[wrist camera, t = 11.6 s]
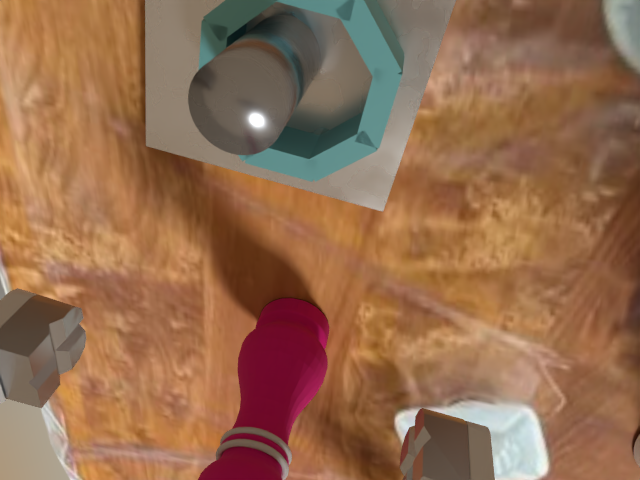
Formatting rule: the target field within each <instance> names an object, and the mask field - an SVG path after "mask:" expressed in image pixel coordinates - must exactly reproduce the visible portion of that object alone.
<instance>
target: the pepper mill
mask: <svg viewBox="0 0 640 480" xmlns="http://www.w3.org/2000/svg"><path fill="white" fill-rule="evenodd" d="M328 335H329V324H328V322H327V319H326V317H325V316H324V314H323V313H322V312H321V311H320V310H319V309H318V308H316V307H315V306H313V305H312V304H310V303H308V302H306V301H303V300H299V299H294V298H281V299H278V300H275V301H272V302H270V303H269V304H268V305H266V306H265V307H264V309H263V310H262V312H261V315H260V317H259V320H258V322H257V325H256V329H254V330H253V331H252V332H251V333H249V334H248V336H247V337H246V338H245V340H244V342H243V344H242V347H241V351H240V354H239V358H238V377H239V384H240V393H241V404H240V411H239V414H238V417H237V420H236V423H235V425H234V426H233V428H232V429H231V430H229V431H227V432H226V433H225V434H224V435H223V436H222V438H221V442H220V446H219V448H218V449H217V452H216V461H215V462H213V463H211V464H210V465H209V466H208V467H207V468H205V469H204V471H203V472H202V473H201V475H200V477H199V479H198V480H284V479H285V478H286V477H287V475H288V472H289V465H290V463H291V460H292V454H291V451H290V449H289V447H288V440H289V435H290V432H291V428H292V425H293V423H294V421H295V419H296V418H297V416H298V415H299V414H300V412H301V411H302V410H303V409H304V408H305V406H306V405H307V404H308V403H309V402H310V401H311V400H312V399H313V397H314V396H315V395H316V393H317V392H318V390H319V388H320V387H321V385H322V383H323V380H324V377H325V374H326V371H327V356H326V352H325V350H324V349H325V347H326V344H327V339H328Z"/></svg>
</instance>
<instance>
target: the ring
mask: <svg viewBox="0 0 640 480" xmlns="http://www.w3.org/2000/svg"><path fill="white" fill-rule="evenodd" d="M275 2H280V3H284V4H287V5H291V6H295V7H298V8H302V9H306V10H309V11H313V12H317V13H321V14H324V15H328V16H332V17H335V18H339V19H341V21H342V23H343V25H344V26H345V28H346V30H347V32H348V33H349V35H350V37H351V39H352V41H353V42H354V44H355V46H356V48H357V50H358V51H359V53H360V55H361V57H362V58H363V60H364V62H365V64H366V66H367V67H368V69H369V71H370V73H371V74H372V76H373V78H372V82H371V86H370V89H369V93H368V97H367V100H366V104H365V107H364V111H363V112H362V113H360V114H358V115H356V116H354V117H352V118H351V119H349V120H347V121H345V122H343V123H342V124H340V125H338V126H336V127H334V128H332V129H331V130H329V131H327V132H325V133H323V134H321V135H317V134H313V133H309V132H306V131H302V130H298V129H295V128H291V127H288V126H285V127H284V129H283V131H282V132H281V134H280V135H279V137H278V139H277V140H276V141H275V142H274V144H272V145H271V146H270V147H269V148H267V149H266V150H264V151H262V152H260V153H257V154H253V155H238V156H239V158H240V159H241V160H242V162H243V161H244V160H245V163H246V164H250V165H253V166H257V167H260V168H264V169H268V170H271V171H275V172H278V173H282V174H286V175H289V176H293V177H296V178H300V179H304V180H307V181H311V182H313V180H315V182H316V181H318V180H320V179H322V178H324V177H326V176H328V175H330V174H332V173H334V172H336V171H338V170H340V169H342V168H344V167H346V166H348V165H350V164H352V163H354V162H356V161H358V160H360V159H362V158H364V157H366V156H368V155H370V154H372V153H374V152H376V151H377V149H378V148H380V144H381V141H382V138H383V135H384V132H385V128H386V125H387V122H388V119H389V115H390V112H391V109H392V106H393V103H394V99H395V96H396V93H397V90H398V87H399V83H400V80H401V77H402V72H403V65H404V57H405V56H404V52H403V50H402V48H401V46H400V44H399V42H398V40H397V38H396V36H395V34H394V32H393V30H392V29H391V27H390V25H389V23H388V21H387V19H386V17H385V15H384V13H383V11H382V9H381V7H380V5H379V4H378V2H377V0H225V1H224V2H222V3H221V4H220V5H219V6H217V7H216V8H215V9H213V10H212V11H211V12H209V13H208V14H207V15H205V16H204V17H203V18H204V19H203V20H202V22H201V38H200V55H199V69H200V68H202V67H203V66H204V65H205V64H207V63H208V62H209V61H210V60H212V59H213V58H214V57H216V56H217V55H218V54H219V53H221V52H222V51H223V50H225V49H226V48H227V47H228V46H230V45H231V44H232V43H234V42H235V41H236V40H237V39H239V38H240V37H241V36H243V35H244V34H245V33H246V27H247V22H249V21H250V20H252V19H253V18H254V17H256V16H257V15H258V14H260V13H261V12H263V11H264V10H265V9H267V8H268V7H270V6H271V5H272V4H274V3H275Z"/></svg>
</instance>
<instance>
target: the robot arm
mask: <svg viewBox="0 0 640 480" xmlns="http://www.w3.org/2000/svg"><path fill="white" fill-rule="evenodd" d="M82 319H83V314H82V309H81V308H78V307H75V306H72V305H69V304H66V303H63V302H60V301H56V300H53V299H50V298H47V297H44V296H41V295H38V294H35V293H31V292H28V291H25V290H21V289H18V288H17V289H15V290H13V291H10V292H9V293H8V294H7V295H5V296H4V298H2V299H1V300H0V404H1V403H2V402H4V401H5V398H6V399H10V400H14V401H17V402H21V403H25V404H28V405H32V406H35V407H39V408H42V407H43V406H44V404H45V403H46V402H47V401H48V399H49V398H50V397H51V395H52V394H53V393H54V392H55V390H56V389H57V388H58V386H59V385H60V374H62V373H65V372H67V371H69V370H71V369H72V368H73V367H74V366H75V364H76V363H77V361H78V360H79V359H80V356H81V354H82V352H83V350H84V348H85V342H86V334H85V330H84V329H83V328H82V327H81V326H80V324H79V323H80V322H81V320H82ZM634 458H635V461H636V463H637V464H638V466H639V467H640V435H639V436H638V438H637V440H636V442H635V445H634ZM400 469H401V471H402V473H403V475H404V478H403V480H495V478H494V467H493V457H492V446H491V436H490V431H489V429H488V427H485V426H482V425H479V424H475V423H471V422H468V421H464V420H463V419H460V418H456V417H453V416H449V415H445V414H442V413H438V412H435V411H431V410H427V409H424V408H422V409H420V410H419V412H418V413H417V415H416V419H415V426H412V427H410V428H409V430H408V432H407V434H406V436H405V439H404V442H403V446H402V451H401V458H400Z"/></svg>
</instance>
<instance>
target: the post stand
mask: <svg viewBox="0 0 640 480" xmlns="http://www.w3.org/2000/svg"><path fill="white" fill-rule="evenodd" d="M224 1H225V0H145V75H146V146H147V147H151V148H155V149H158V150H162V151H166V152H169V153H173V154H176V155H180V156H184V157H187V158H191V159H195V160H198V161H202V162H205V163H209V164H213V165H216V166H220V167H224V168H227V169H231V170H234V171H238V172H242V173H245V174H249V175H253V176H256V177H260V178H263V179H267V180H271V181H274V182H278V183H281V184H285V185H289V186H292V187H296V188H300V189H303V190H307V191H310V192H314V193H318V194H321V195H325V196H329V197H332V198H336V199H339V200H343V201H347V202H350V203H354V204H358V205H361V206H365V207H368V208H372V209H376V210H379V211H383V210H384V207H385V204H386V201H387V199H388V196H389V193H390V190H391V187H392V184H393V181H394V178H395V175H396V172H397V170H398V167H399V164H400V161H401V158H402V155H403V152H404V149H405V146H406V143H407V141H408V138H409V135H410V132H411V129H412V126H413V123H414V120H415V117H416V114H417V111H418V109H419V106H420V103H421V100H422V97H423V94H424V91H425V88H426V85H427V82H428V80H429V77H430V74H431V71H432V68H433V65H434V62H435V59H436V56H437V53H438V51H439V48H440V45H441V42H442V39H443V36H444V33H445V30H446V27H447V24H448V22H449V19H450V16H451V13H452V10H453V7H454V4H455V1H456V0H377V2H378V4H379V5H380V7H381V9H382V11H383V13H384V15H385V17H386V19H387V21H388V23H389V25H390V27H391V29H392V30H393V32H394V34H395V36H396V38H397V40H398V42H399V44H400V46H401V48H402V50H403V52H404V56H405V57H404V65H403V72H402V77H401V80H400V83H399V87H398V90H397V93H396V96H395V99H394V103H393V106H392V109H391V112H390V115H389V119H388V122H387V125H386V128H385V132H384V135H383V138H382V141H381V144H380V148H378V149H377V151H376V152H374V153H372V154H370V155H368V156H366V157H364V158H362V159H360V160H358V161H356V162H354V163H352V164H350V165H348V166H346V167H344V168H342V169H340V170H338V171H336V172H334V173H332V174H330V175H328V176H326V177H324V178H322V179H320V180H318V181H316V182H315V180H313V182H311V181H307V180H304V179H300V178H296V177H293V176H289V175H286V174H282V173H278V172H275V171H271V170H268V169H264V168H260V167H257V166H253V165H250V164H246V163H245V160H244V161H243V162H242V160H241V159H240V158H239V156H238V155H253V154H257V153H260V152H262V151H264V150H266V149H267V148H269V147H270V146H271V145H272V144H274V142H275V141H276V140H277V139H278V137H279V135H280V134H281V132H282V131H283V129H284V127H285V126H288V127H291V128H295V129H298V130H302V131H306V132H309V133H313V134H317V135H321V134H323V133H325V132H327V131H329V130H331V129H332V128H334V127H336V126H338V125H340V124H342V123H343V122H345V121H347V120H349V119H351V118H352V117H354V116H356V115H358V114H360V113H362V112H363V111H364V107H365V104H366V100H367V97H368V93H369V89H370V86H371V82H372V78H373V76H372V74H371V73H370V71H369V69H368V67H367V66H366V64H365V62H364V60H363V58H362V57H361V55H360V53H359V51H358V50H357V48H356V46H355V44H354V42H353V41H352V39H351V37H350V35H349V33H348V32H347V30H346V28H345V26H344V25H343V23H342V21H341V19H339V18H335V17H332V16H328V15H324V14H321V13H317V12H313V11H309V10H306V9H302V8H298V7H295V6H291V5H287V4H284V3H280V2H275V3H274V4H272V5H271V6H270V7H268V8H267V9H265V10H264V11H263V12H261V13H260V14H258V15H257V16H256V17H254V18H253V19H252V20H250V21H249V22H247V27H246V33H245V34H244V35H243V36H241V37H240V38H239V39H237V40H236V41H235V42H234V43H232V44H231V45H230V46H228V47H227V48H226V49H225V50H223V51H222V52H221V53H219V54H218V55H217V56H216V57H214V58H213V59H212V60H210V61H209V62H208V63H207V64H205V65H204V66H203V67H202V68H200V69H199V55H200V38H201V22H202V20H203V19H204V18H203V17H204V16H205V15H207V14H208V13H209V12H211V11H212V10H213V9H215V8H216V7H217V6H219V5H220V4H221V3H222V2H224Z"/></svg>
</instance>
